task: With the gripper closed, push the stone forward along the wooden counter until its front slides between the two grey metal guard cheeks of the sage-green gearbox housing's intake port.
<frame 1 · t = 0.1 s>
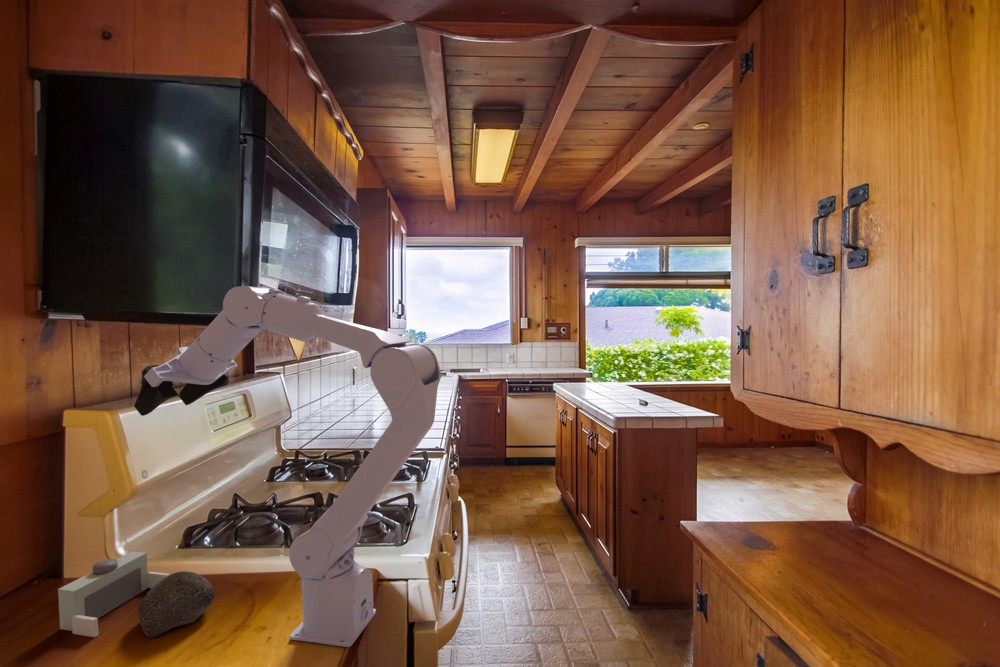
hand: (162, 405, 73), 32 cm above the worktop, tool tilted 50°, fingers open, 7 cm apart
stone: (178, 618, 71), on the worktop
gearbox: (125, 609, 73), on the worktop
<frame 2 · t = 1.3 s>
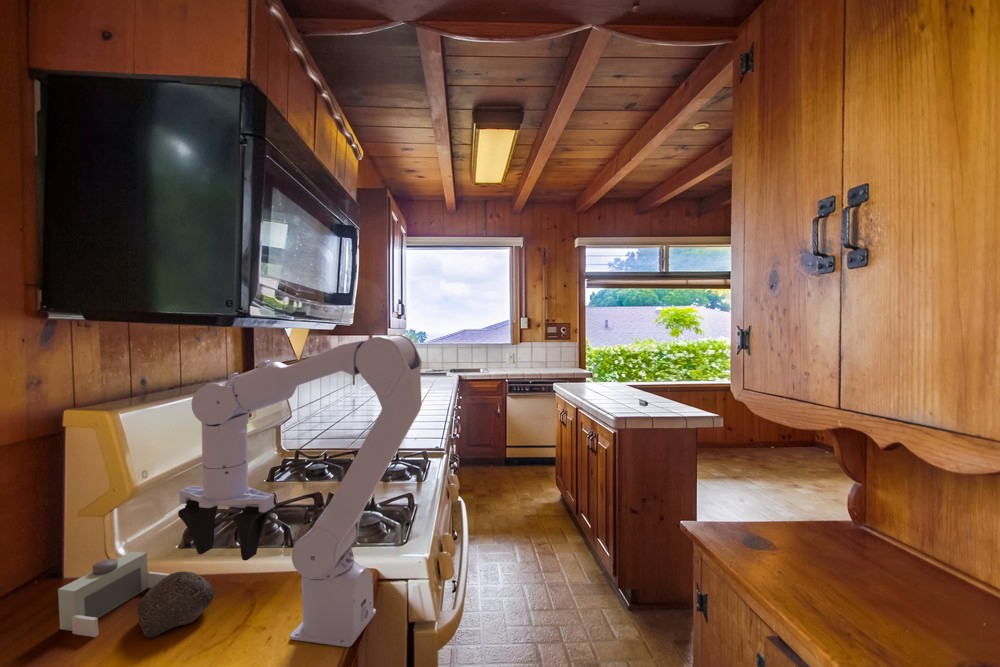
hand: (227, 553, 69), 11 cm above the worktop, tool pointing down, fingers open, 7 cm apart
nothing on the worktop moved.
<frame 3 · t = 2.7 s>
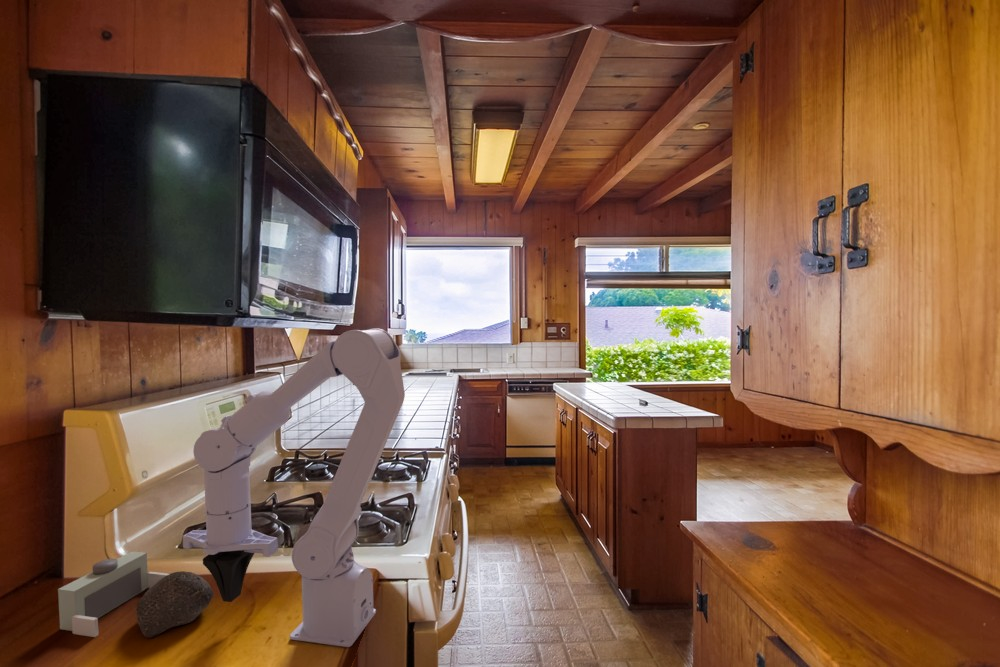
hand: (231, 597, 69), 4 cm above the worktop, tool pointing down, fingers closed
nothing on the worktop moved.
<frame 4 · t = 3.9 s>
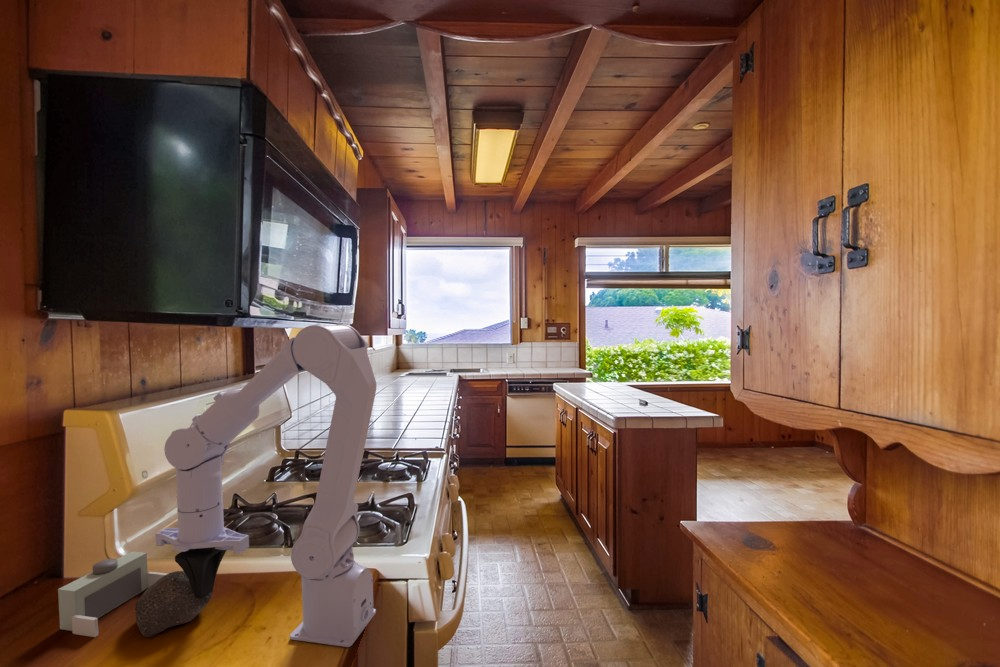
hand: (204, 594, 70), 4 cm above the worktop, tool pointing down, fingers closed
stone: (175, 618, 71), on the worktop, touching gripper
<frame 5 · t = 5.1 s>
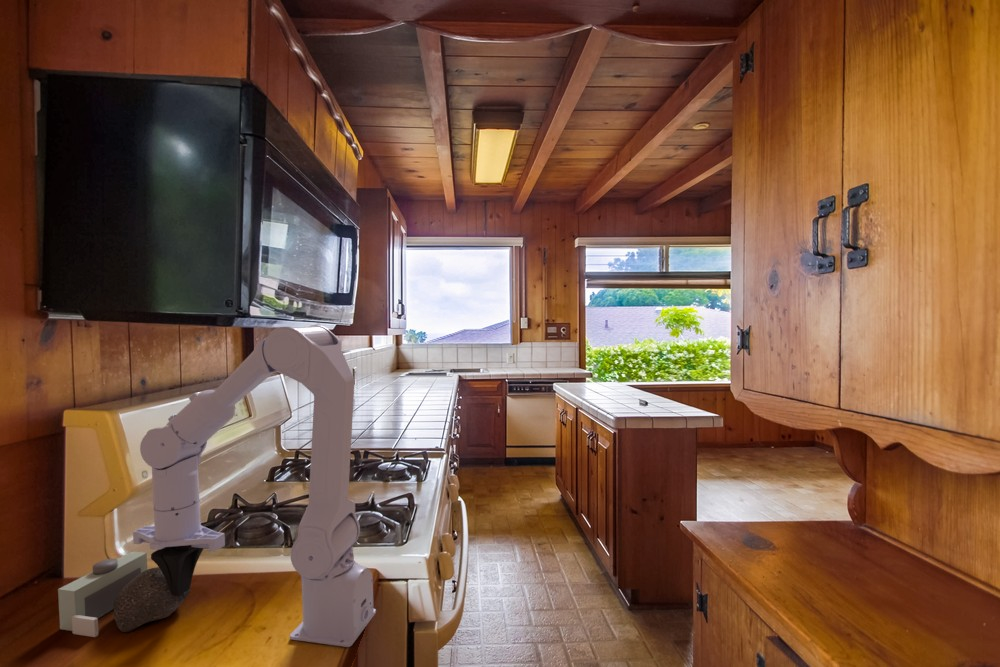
hand: (181, 591, 71), 4 cm above the worktop, tool pointing down, fingers closed
stone: (153, 613, 72), on the worktop, touching gripper
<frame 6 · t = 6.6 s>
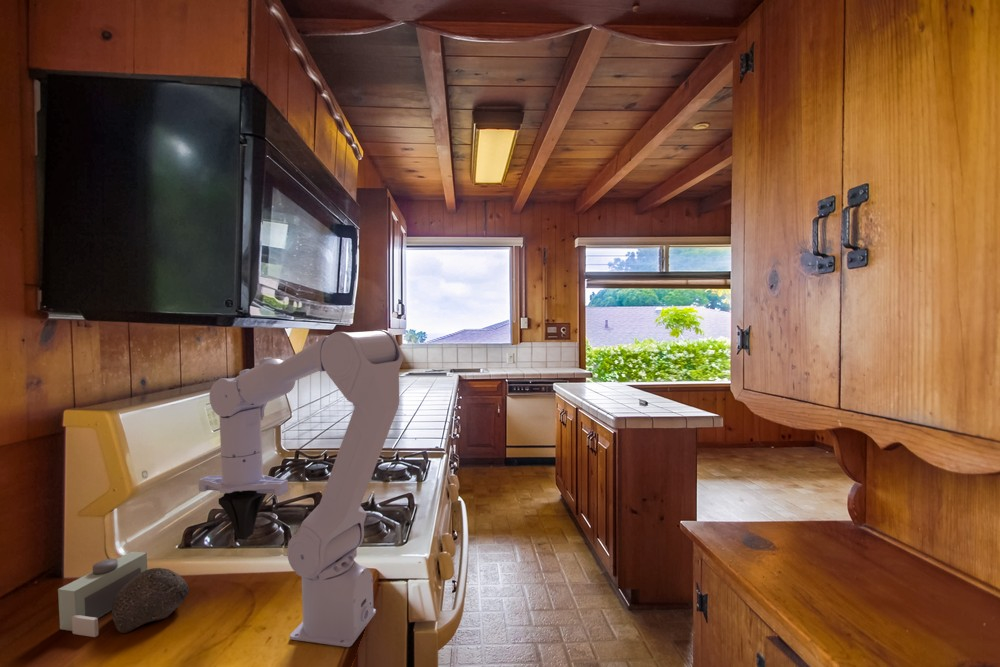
hand: (245, 536, 75), 10 cm above the worktop, tool pointing down, fingers closed
stone: (152, 614, 72), on the worktop
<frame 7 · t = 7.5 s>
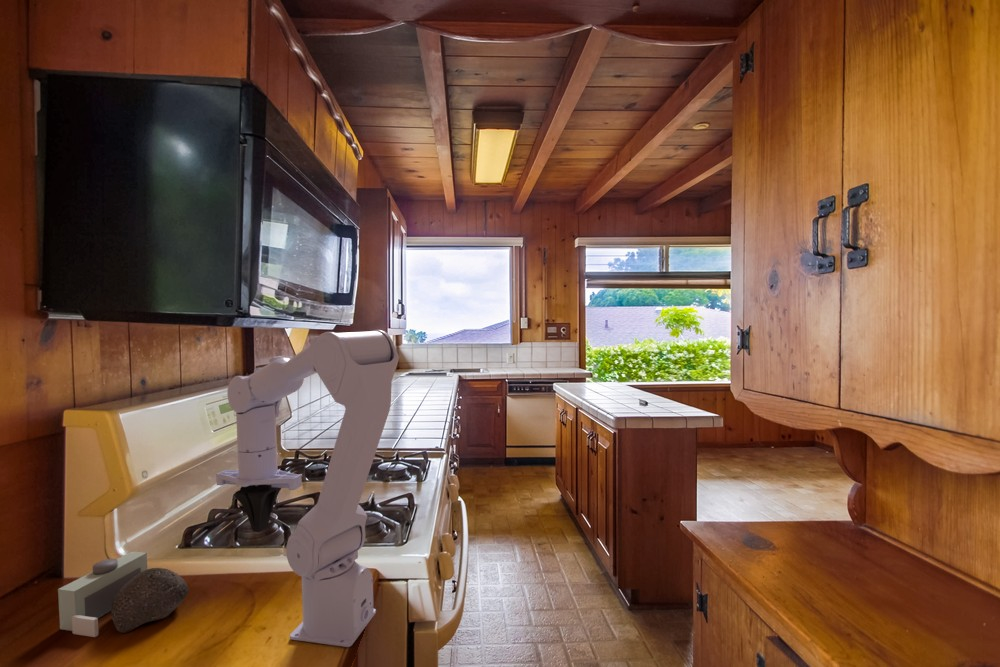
hand: (260, 529, 77), 10 cm above the worktop, tool pointing down, fingers closed
nothing on the worktop moved.
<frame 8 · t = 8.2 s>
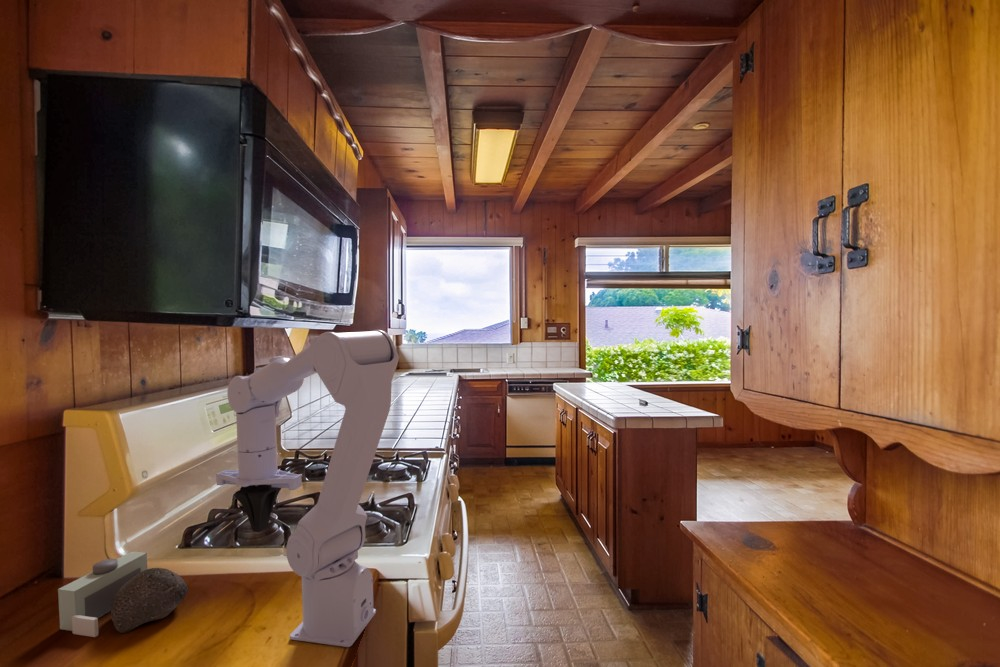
hand: (260, 529, 77), 10 cm above the worktop, tool pointing down, fingers closed
nothing on the worktop moved.
at the end: stone inside the target area (0.5 cm from its centre), on the worktop; stone tilted 0°; stone moved 5.3 cm from its start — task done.
